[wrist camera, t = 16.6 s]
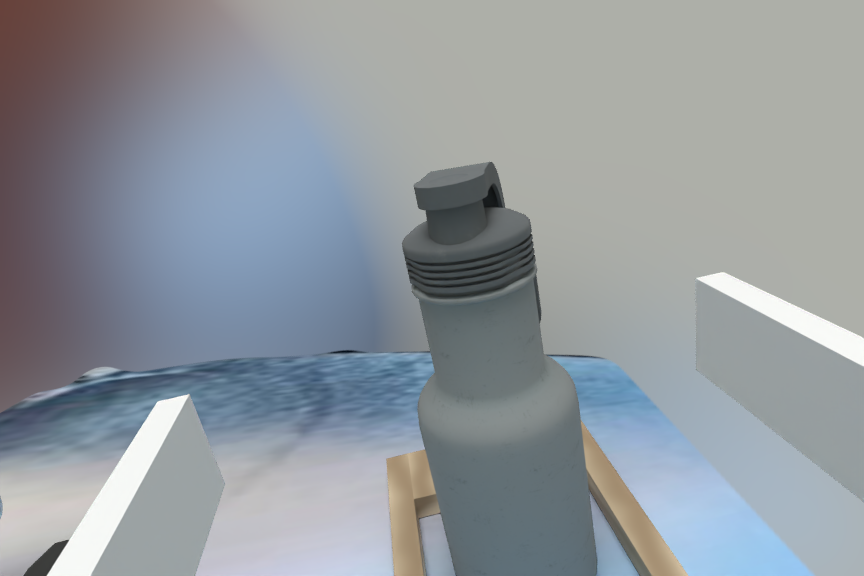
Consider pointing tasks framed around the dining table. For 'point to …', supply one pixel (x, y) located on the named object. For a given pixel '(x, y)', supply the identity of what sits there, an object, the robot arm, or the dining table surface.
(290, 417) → the dining table surface
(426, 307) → the water bottle
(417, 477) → the oak cut-out board
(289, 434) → the dining table surface
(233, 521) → the dining table surface
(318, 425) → the dining table surface
